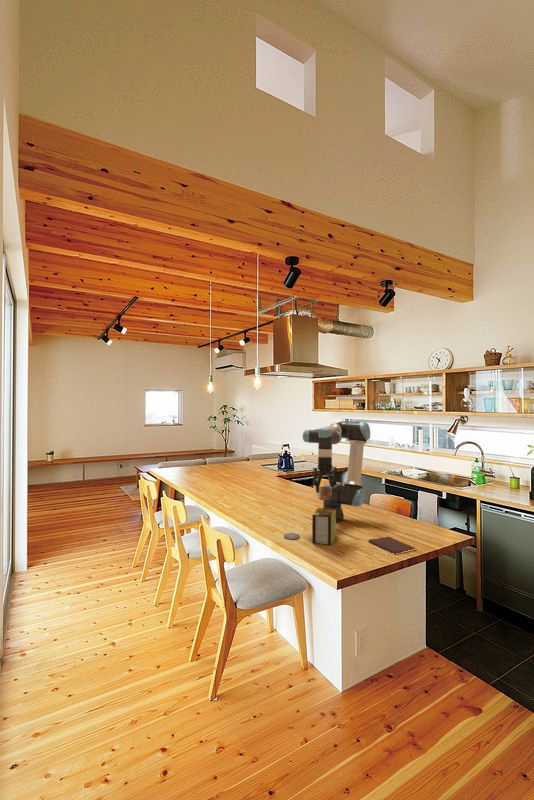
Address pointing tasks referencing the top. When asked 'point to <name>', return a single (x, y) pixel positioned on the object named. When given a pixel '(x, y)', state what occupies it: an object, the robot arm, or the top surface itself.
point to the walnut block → (326, 493)
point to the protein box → (324, 526)
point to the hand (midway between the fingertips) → (324, 498)
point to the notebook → (391, 545)
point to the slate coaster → (291, 536)
